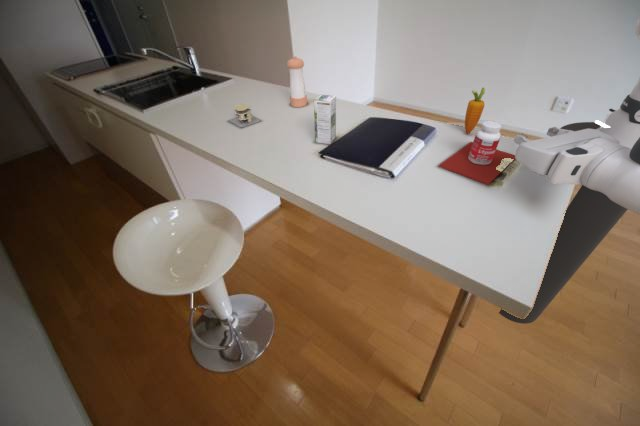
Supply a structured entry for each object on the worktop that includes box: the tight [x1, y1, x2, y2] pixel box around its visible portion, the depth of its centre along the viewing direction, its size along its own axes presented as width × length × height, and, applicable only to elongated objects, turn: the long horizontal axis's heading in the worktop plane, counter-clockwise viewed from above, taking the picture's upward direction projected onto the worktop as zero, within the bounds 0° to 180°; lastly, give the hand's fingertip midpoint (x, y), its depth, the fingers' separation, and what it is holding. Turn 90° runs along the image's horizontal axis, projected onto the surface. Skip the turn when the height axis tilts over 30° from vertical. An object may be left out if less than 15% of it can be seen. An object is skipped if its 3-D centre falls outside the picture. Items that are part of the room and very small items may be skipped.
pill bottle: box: [468, 120, 503, 165], centre depth 80 cm, size 6×6×11 cm
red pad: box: [438, 141, 516, 186], centre depth 84 cm, size 20×14×1 cm
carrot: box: [464, 87, 486, 135], centre depth 94 cm, size 5×5×15 cm
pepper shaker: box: [286, 55, 308, 108], centre depth 123 cm, size 7×7×19 cm
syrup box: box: [313, 94, 337, 145], centre depth 95 cm, size 6×6×14 cm
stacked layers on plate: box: [229, 103, 261, 129], centre depth 114 cm, size 10×9×6 cm
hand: (533, 133), depth 67 cm, fingers open, 8 cm apart
